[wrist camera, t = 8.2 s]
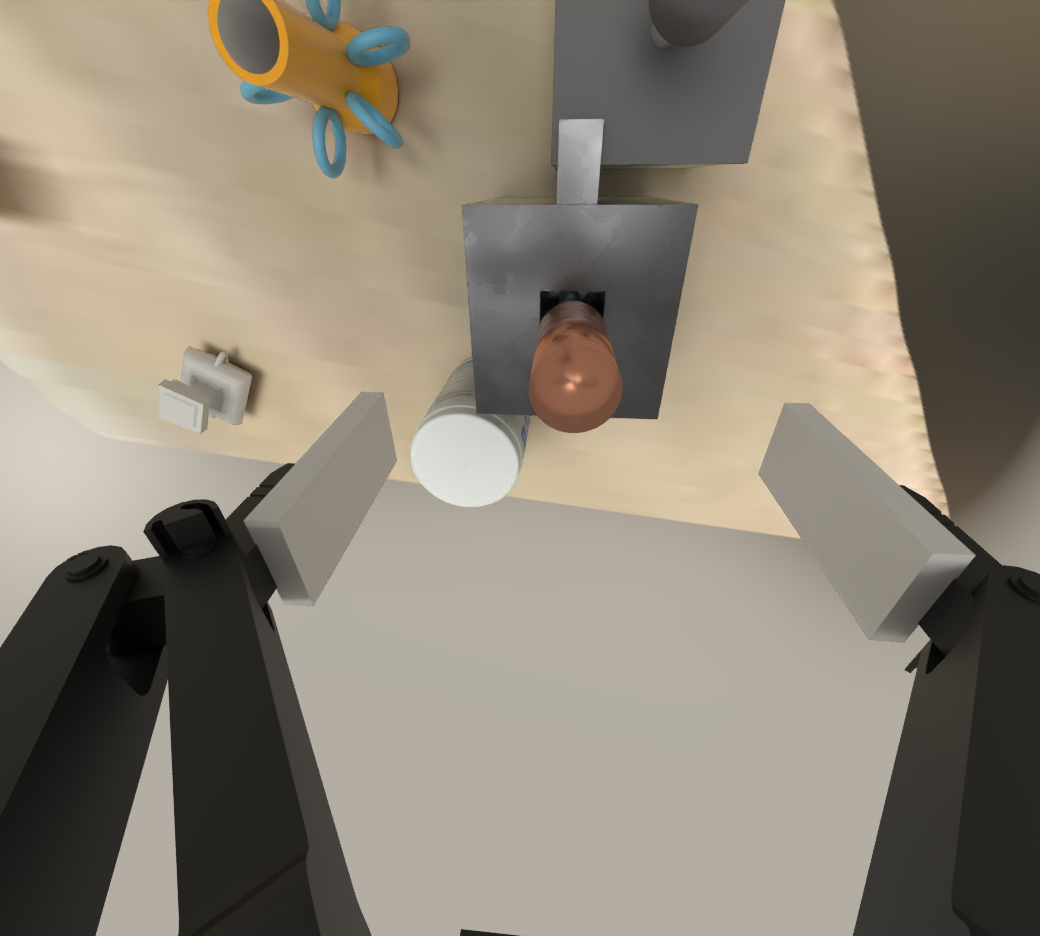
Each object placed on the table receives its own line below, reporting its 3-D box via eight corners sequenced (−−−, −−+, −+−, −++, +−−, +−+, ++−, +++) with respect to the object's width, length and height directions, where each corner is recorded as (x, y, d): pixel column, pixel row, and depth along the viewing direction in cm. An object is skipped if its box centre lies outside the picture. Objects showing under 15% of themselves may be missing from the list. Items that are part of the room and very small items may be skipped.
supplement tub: (548, 410, 48) (543, 487, 36) (478, 444, 52) (452, 525, 39) (503, 335, 44) (480, 392, 32) (430, 376, 47) (384, 443, 35)
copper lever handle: (544, 268, 33) (529, 345, 18) (596, 268, 33) (628, 347, 17) (543, 321, 36) (528, 431, 20) (592, 322, 35) (616, 434, 20)
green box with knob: (560, -25, 30) (557, -435, 10) (725, -32, 29) (1076, -492, 9) (554, 170, 36) (545, 155, 16) (691, 169, 35) (856, 151, 15)
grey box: (495, 141, 35) (455, 116, 22) (656, 139, 35) (715, 111, 21) (501, 345, 45) (476, 413, 31) (628, 347, 44) (657, 419, 31)
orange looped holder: (463, 91, 34) (405, 37, 21) (391, 204, 39) (309, 214, 26) (326, -65, 30) (159, -242, 17) (265, 83, 35) (98, 27, 22)
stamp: (206, 329, 47) (143, 355, 40) (267, 360, 48) (216, 390, 41) (197, 395, 51) (139, 429, 44) (253, 421, 53) (205, 458, 46)
